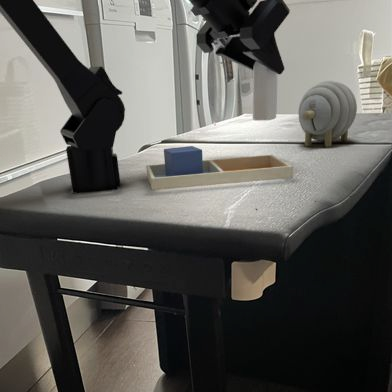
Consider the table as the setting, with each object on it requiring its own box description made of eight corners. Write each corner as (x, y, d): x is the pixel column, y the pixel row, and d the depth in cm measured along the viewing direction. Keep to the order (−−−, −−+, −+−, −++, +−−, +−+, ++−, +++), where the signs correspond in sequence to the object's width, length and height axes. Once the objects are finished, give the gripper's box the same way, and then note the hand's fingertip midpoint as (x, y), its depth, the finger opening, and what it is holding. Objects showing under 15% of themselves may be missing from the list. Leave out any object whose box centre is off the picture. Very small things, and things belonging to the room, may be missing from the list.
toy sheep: (364, 138, 110) (369, 77, 105) (336, 151, 98) (340, 83, 93) (314, 137, 116) (317, 79, 110) (281, 150, 103) (282, 85, 98)
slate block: (174, 185, 77) (171, 152, 75) (166, 180, 81) (163, 149, 79) (203, 181, 78) (202, 149, 76) (194, 176, 82) (192, 145, 80)
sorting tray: (152, 194, 76) (151, 178, 75) (147, 179, 85) (146, 165, 84) (292, 181, 78) (293, 166, 77) (272, 168, 88) (272, 154, 87)
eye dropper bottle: (241, 120, 86) (242, 32, 80) (266, 116, 89) (268, 31, 84) (261, 121, 83) (263, 30, 77) (287, 118, 86) (290, 30, 81)
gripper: (279, -81, 66) (345, 23, 75) (212, -52, 81) (274, 32, 90) (222, -5, 67) (294, 90, 76) (166, 10, 82) (232, 87, 91)
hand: (273, 72), depth 83 cm, fingers closed on eye dropper bottle, 5 cm apart
